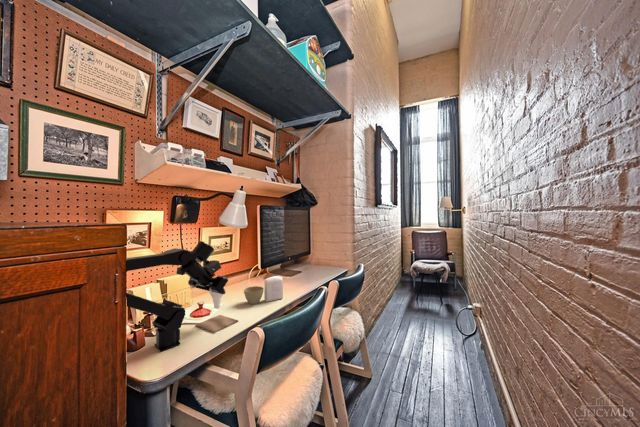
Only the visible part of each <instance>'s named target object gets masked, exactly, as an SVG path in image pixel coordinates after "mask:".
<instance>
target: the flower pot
mask: <svg viewBox="0 0 640 427" xmlns="http://www.w3.org/2000/svg"><path fill="white" fill-rule="evenodd" d="M264 290H265V287H263V286H257V285H256V286H255V285H254V286H249V287H246V288H244V289H243V294H244V297H245V299H246V301H247V302H248V304H250V305H257V304H259V302H261V299H262V297H263V294H264Z"/></svg>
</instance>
